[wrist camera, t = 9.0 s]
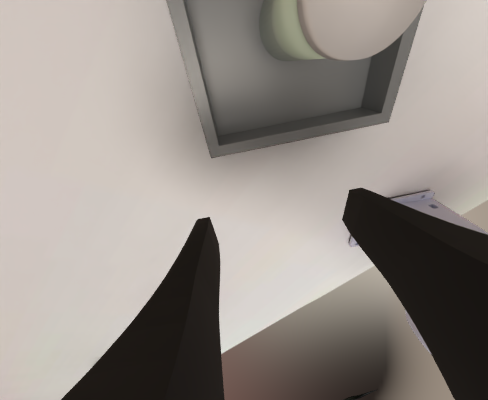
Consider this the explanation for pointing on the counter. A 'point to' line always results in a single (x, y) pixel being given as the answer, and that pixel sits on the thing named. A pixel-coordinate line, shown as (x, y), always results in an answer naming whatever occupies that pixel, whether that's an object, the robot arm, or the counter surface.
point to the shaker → (333, 27)
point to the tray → (276, 80)
